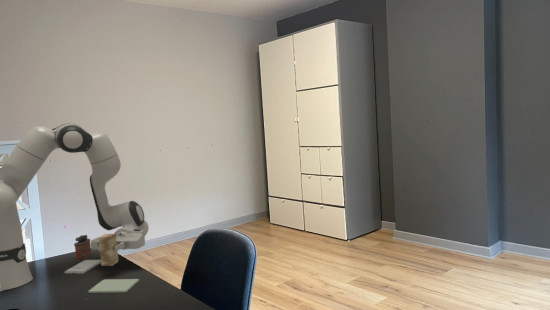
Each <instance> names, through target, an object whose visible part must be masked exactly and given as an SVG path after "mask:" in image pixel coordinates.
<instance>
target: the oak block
mask: <svg viewBox="0 0 550 310" xmlns="http://www.w3.org/2000/svg"><path fill="white" fill-rule="evenodd" d="M98 237H99V247H100V251H99V255H100V260H101V263H100V264H101V266H103V267H104V266H107V267H108V266H112V267H113V266H114V265H115V264H118V262H119V254H118V253H119V252H118V251H113V246H114V245H117V241H116V234H114V233H104V234H102V235H100V236H98Z"/></svg>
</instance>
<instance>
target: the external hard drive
mask: <svg viewBox="0 0 550 310" xmlns="http://www.w3.org/2000/svg"><path fill="white" fill-rule="evenodd" d="M100 264H101V259H84V260H81V261H79V262H78V263H77V264H75V265H73V266H72V267H70V268H68V269H66V270H65V271H64V274H82V275H83V274H85V273H86V272H88V271H90V270H91V269H93V268H94V267H95V268H96V267H97V266H98V265H100Z"/></svg>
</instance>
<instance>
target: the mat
mask: <svg viewBox="0 0 550 310" xmlns="http://www.w3.org/2000/svg"><path fill="white" fill-rule="evenodd" d="M139 281H140V279H139V278H129V279H128V278H127V279H126V278H120V279H119V278H118V279H116V278H115V279H114V278H113V279H112V278H111V279H110V278H108V279H106V278H105V279H102V280H101V281H100V282H98V283H97V284H96V285H94V286H93V287H91V289H89V290H88V291H87V292H88V293H89V294H90V293H94V294H95V293H96V294H98V293H107V294H108V293H110V294H111V293H127V292H129V291H130V290H131V289H132V288H133V287H134V286H135V285H136V284H137V283H138V282H139Z"/></svg>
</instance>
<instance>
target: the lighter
mask: <svg viewBox="0 0 550 310" xmlns="http://www.w3.org/2000/svg"><path fill="white" fill-rule="evenodd" d="M73 245H74V249H75V261H76V262H82V261H84V260H87V259H88V258H90V257H92V255H93V253H92V248H91V238H88V234H82V235H80V236H78V237H75V243H73Z"/></svg>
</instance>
